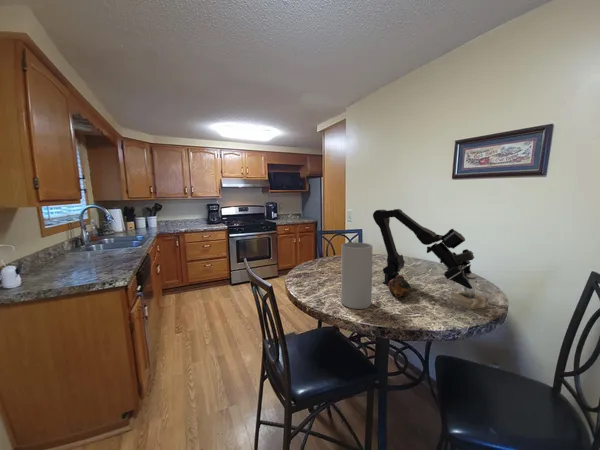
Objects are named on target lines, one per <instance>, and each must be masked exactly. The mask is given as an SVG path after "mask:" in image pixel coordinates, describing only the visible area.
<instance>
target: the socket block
mask: <svg viewBox="0 0 600 450" xmlns="http://www.w3.org/2000/svg"><path fill="white" fill-rule="evenodd" d="M450 301H451V302H453V303H455V304H457V305H460V306H462V307H463V308H466V309H468V310H475V309H481V308H488V307H489V298H488V297H486V296H483V295H481V294H478V293H477V292H475V298H473V299H469V298H466V297H464V296H463V290H461V291H451V292H450Z"/></svg>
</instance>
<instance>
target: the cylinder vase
mask: <svg viewBox="0 0 600 450" xmlns="http://www.w3.org/2000/svg"><path fill="white" fill-rule="evenodd" d="M340 248H341V249H340V251H341V252H340V253H341V254H340V256H341V257H340V262H341V263H340V268H341V269H340V274H341V275H340V276H341V277H340V279H341V280H340V285H341V286H340V289H341V290H340V302H341V304H342V305H343V306H345V307H347V308H350V309H354V310H363V309H367V308H369V307H370V306H371V305H372V295H373V294H372V293H373V291H372V290H373V289H372V287H373V285H372V283H373V282H372V281H373V244H370V243H367V242H365V243H364V242H344V243H342V244H341V247H340Z"/></svg>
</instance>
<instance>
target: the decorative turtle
mask: <svg viewBox="0 0 600 450" xmlns="http://www.w3.org/2000/svg"><path fill="white" fill-rule="evenodd" d="M411 287H412V286H411V284H410V283H409V281H408V280H406V279H405V277H404V275H402V274H399V275H398V276H396V278H394V279H392V280H391V281H389V283H388V285H387V288H388V291H389V292H390V294H391V295H392V296H395V297H396V298H401V297H403V298H406V297H407V296H408V295H409V294H410V291H411Z"/></svg>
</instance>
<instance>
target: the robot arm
mask: <svg viewBox="0 0 600 450" xmlns="http://www.w3.org/2000/svg"><path fill="white" fill-rule="evenodd" d="M372 217H373V220H374V222H375V224H376V225H377V226H378V227H379V230H380V232H381V236H382V237H381V238H382V240H383V243H384V246H385V251H386V253H387V254H386V255H387V258H386V265H387V266H385V267H384V268H383V269H382V272H383V274H384V281H382V284H384V285H386V286H388V283H389V281H391V280H392V279H394V278H396V276H398V275H400V272H401V270H402V269H404V266H405V263H406V262H405V259H404V256H403V254H399V252H398V250H397V248H396V245H395V244H396V243H395V241H394V237H393V235H392V231H391V227H390V222H391V219H390V218H395V219H396V220H398V221H399V222H400V223H402V224H403V225H404V226H405V227H406V228H407V229H409V230H410V232H412V233H413V234H414V235H415V237H416V239H417V240H419V242H420V243H421V244H422V245H425V246H426V253H427V254H429V253H431V252H432V254H434V256H436V257H437V259H439V263H440V264H444V266H445V267H446V268H447V269H446V271H445V272H444V273H443V275H444V277H445V278H446V279H447V280H450V281H452V282H454V283H457V284H459V285H461V286H463V287H464V286H465V287H467V288H469V289H472V286H471V285H470V283H469V282H468V280H467V279H466V278H465V276H464V274H465V273H472V274H473V272H472V270H471V266H472V265H471V261H473V260H474V259H475V256H474V253H473V252H472V250H469V249H468V248H466V249H463V250H462V252H460V253H456V252H452V251H451V250H450V249H453V250H454V249H456V248H457V247H459V246H460V245H461V244H462V243H464V242H466V238H465V237H464V236H463V234H461V233H459V232H458V231H457V230H455V228H450V230H448V232H446V233H445V234H444V235H443V234H441V235H440V234H437V233H436V232H435V231H433V230H431V229H430V228H427V227H424V226H422V225H421V224H419V223H418V222H417V221H415V220H414V219H412V218H411V217H410V216H409V215H408V214H406V213H405V212H404V211H403V210H402V209H400V208H394V209H391V210H386V209H376V210H375V211H374V212H373V213H372ZM438 242H439V243H438ZM430 245H431V246H430ZM477 283H478V281H477V280H476V284H477Z"/></svg>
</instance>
